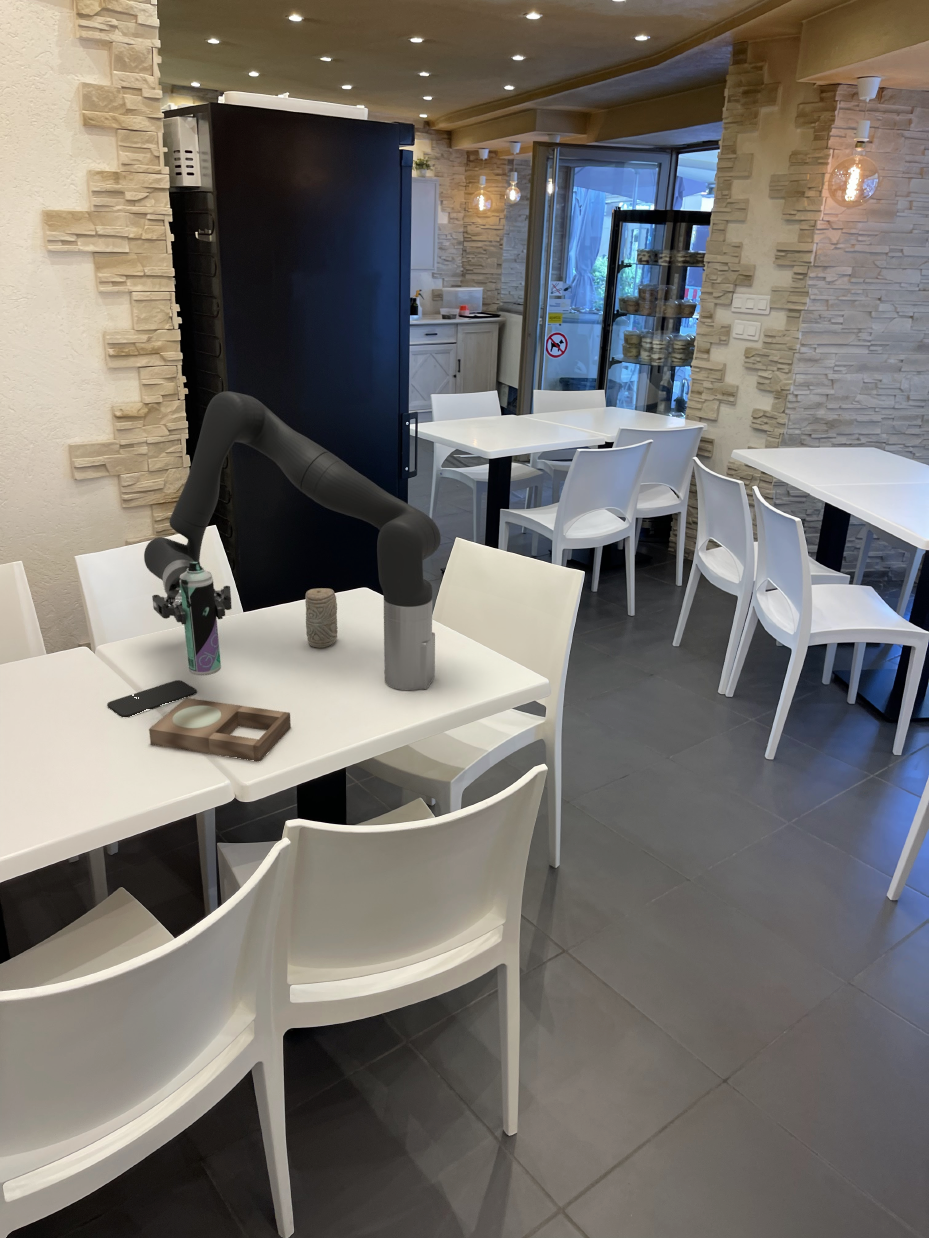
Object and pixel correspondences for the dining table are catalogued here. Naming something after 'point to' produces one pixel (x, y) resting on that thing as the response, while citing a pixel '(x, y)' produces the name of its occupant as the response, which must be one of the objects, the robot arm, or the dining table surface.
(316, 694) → the dining table surface
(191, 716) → the walnut tray
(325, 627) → the carving
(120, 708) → the phone
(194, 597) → the spray can
